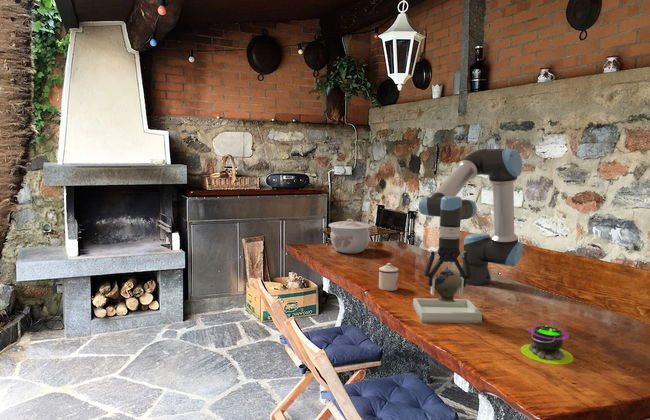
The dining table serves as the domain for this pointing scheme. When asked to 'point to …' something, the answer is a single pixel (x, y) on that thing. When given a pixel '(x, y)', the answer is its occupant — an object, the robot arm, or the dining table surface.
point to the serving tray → (447, 311)
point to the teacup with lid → (388, 277)
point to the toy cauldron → (547, 346)
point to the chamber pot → (350, 236)
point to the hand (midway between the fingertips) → (446, 294)
